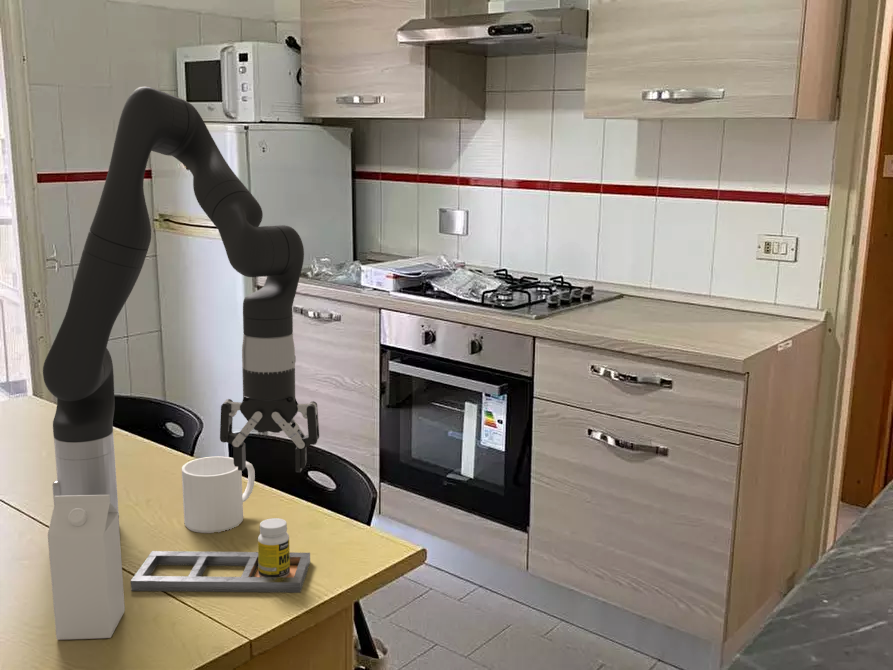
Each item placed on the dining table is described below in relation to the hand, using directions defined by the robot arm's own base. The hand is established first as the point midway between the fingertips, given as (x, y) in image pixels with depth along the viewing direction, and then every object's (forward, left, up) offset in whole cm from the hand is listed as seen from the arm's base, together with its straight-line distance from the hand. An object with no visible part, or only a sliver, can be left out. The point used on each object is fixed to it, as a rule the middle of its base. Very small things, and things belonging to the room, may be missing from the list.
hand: (270, 469), depth 134 cm
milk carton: (-22, -15, -18) cm, 32 cm away
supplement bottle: (0, 0, -17) cm, 17 cm away
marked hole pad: (0, 0, -17) cm, 17 cm away
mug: (-13, +21, -18) cm, 31 cm away
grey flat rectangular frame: (-8, 0, -17) cm, 19 cm away
